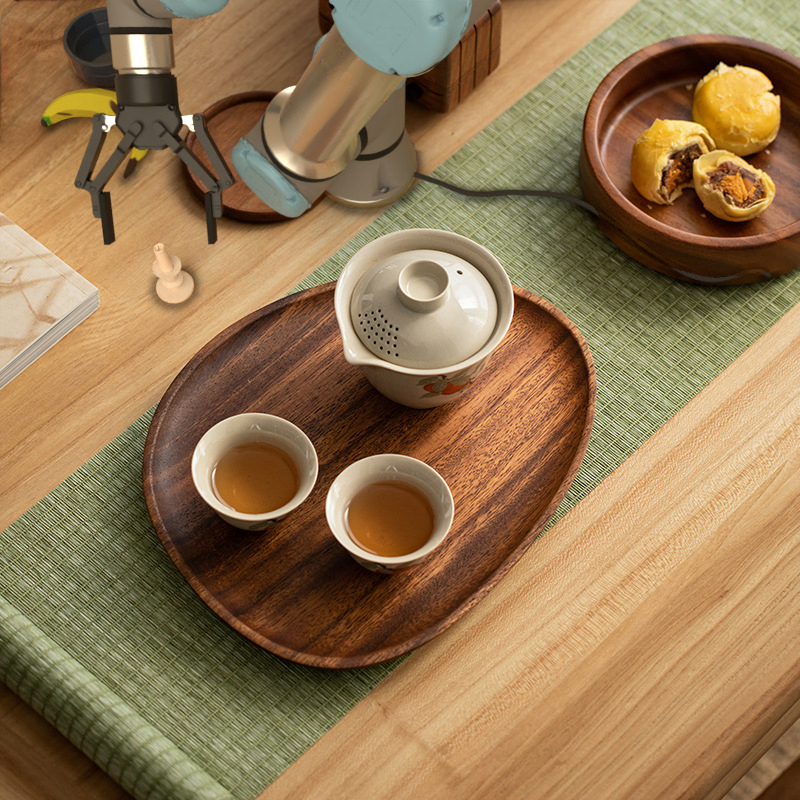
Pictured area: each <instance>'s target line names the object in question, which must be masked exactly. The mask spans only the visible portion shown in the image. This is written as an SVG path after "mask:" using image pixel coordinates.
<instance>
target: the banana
mask: <svg viewBox="0 0 800 800" xmlns="http://www.w3.org/2000/svg"><path fill="white" fill-rule="evenodd" d="M117 111H118V107H117V98H116V91H113V90H110V89H105V88H102V87H98V88H97V87H96V88H95V87H93V88H80V89H75V90H71V91H67V92H65V93H63V94H61V95H59V96H58V97H56V98H54V99H53V100H52V102H50V104H49V105H48V106H46V108H45V109H44V111H43V114H42V116H41V119H40V123H41V124H40V125H41V126H42V127H43V128H49V127H50V126H51V125H55V124H57V123H59V122H61V121H64V120H67V119H71V118H93V115H94V114H97V113H105V114H106V115H114V116H116V115H117ZM148 151H149V149H147V150H138V149H136V148H135V147H134V148H133V149H132V150H131V154H130V156H129V159H128V162H127V164H126V166H125V169H124V172H123V175H122V177H123V179H124V180H125V179H128V177H129V176H130V175H131V174H132V173H133V172H134V171H135V169H136V167H137V164H138V162H139V161H141V160H142V159H143V158H144V157H145V156H146V154H147V153H148Z"/></svg>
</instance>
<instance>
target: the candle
mask: <svg viewBox="0 0 800 800" xmlns="http://www.w3.org/2000/svg"><path fill="white" fill-rule="evenodd" d="M153 253H154V255H155V260H154V261H153V263H152V266H151V269H152V273H153V275H155V277H157V278H158V279H157V282H156V285H155V290H156V293H157V295H158V297H159V298H160V299H161V300H162V301H164V302H165V303H169V304H180V303H183V302H185V301H187V300H188V299H190V297H191V296H192V294H193V292H194V290H195V282H194V279H193V277H192V275H191V274H190V273H188V272H187V271H184V270H182V261H181V259H180V258H179V257H178V256H176V255H174V254H169V253H168V251H167V248H166V247H165V245H164V243H162V242H159V243H156V244H155V245H154V246H153Z"/></svg>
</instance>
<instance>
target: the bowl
mask: <svg viewBox="0 0 800 800" xmlns="http://www.w3.org/2000/svg"><path fill="white" fill-rule="evenodd" d="M110 35H119V34H110V28H109V22H108V13H107V6H100V7H95V8H90V9H88V10H86V11H84V12H82V13H79V14H78V15H77V16H76V17H75V18H73V19H72V20H71V21H70V22H69V23H68V25H67V26H66V28H65V29H64V31H63V35H62V40H61V41H62V45H63V49H64V52H65V54H66V56H67V59H68V61H69V64H70V66H71V69H72V70H73V72H74V73H75V75H76V77H78V78H79V79H80V80H83V81H84V82H85V83H88V84H91V85H93V86H96V87H99V88H115V80H114V78H115V77H116V75H119V70H118V69H114V68H113V61H112V51H111V40H110Z"/></svg>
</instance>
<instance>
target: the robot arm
mask: <svg viewBox="0 0 800 800" xmlns="http://www.w3.org/2000/svg"><path fill="white" fill-rule="evenodd" d="M229 1H230V0H105V3H106V4H105V5H106V7H107V13H108V22H109V28H110V34H119V35H110V40H111V51H112V61H113V68H114V69H118V70H119V75H116V77H115V78H114V80H115V87H114V88H115V92H116V98H117V107H118V111H117V115H116V116H114V115H106V114H105V113H97V114H94V115H93V117H91V118H92V119H91V121H92V126H91V127H92V128H91V129H92V132H91V135H90V136H89V137H90V138H89V141H88V143H87V146H86V149H85V152H84V153H83V156H82V159H81V161H80V166H79V168H78V170H77V172H76V173H77V174H76V176H75V179H74V181H73V185H74V187H75V188H76V189H78V190H79V189H81V190H84V191H87V192H88V193H89V195H90V200H91V208H92V209H91V210H92V215H93V217H94V219H100V222H101V223H100V224H101V231H102V238H103V246H110V245H112V244H113V243H115V242H116V233H115V232H116V231H115V223H114V222H115V221H114V215H113V214H114V213H113V206H112V198H111V191H104V190H105V187H106V186H107V185H108V183H109V182H110V181H111V179H112V178H113V177H114V175H115V173H116V172H117V171H118V169H119V168H120V167H121V165H122V164H123V162H124V161H125V159H126V158H127V157H128V155H129V154H130V153H131V152H132V149H133V148H134V147H135V148H136V149H138V150H147V149H148V150H151V149H152V150H154V151H164V150H167V149H168V148H169V149H170V150H171V151H172V152H173V153H174V154H176V156H178V157H179V158H180V159H181V161H182V162H183V163H184V164H185V165H186V166H187V167H188V168H189V169H190V170H191V171H192V172H193V174H194V175H195V176H196V177H197V178H198V179H199V180H200V181H201V183H203V185H204V186H205V187H206V188H207V189H208V190H207V192H205V193H204V207H205V219H206V221H205V222H206V236H207V244H208V245H215V244H216V242H218V240H219V239H218V229H217V228H218V227H217V218H222V216H223V214H224V202H223V192H224V190H227V189H230V188H232V187H233V186H234V185H236V182H237V181H236V180H237V179H236V178H235V176H234V174H233V173H232V171H231V169H230V167H229V165H228V164H227V162H226V160H225V158H224V156H223V154H222V152H221V150H220V149H219V148H218V145H217V144H216V142H215V140H214V138H213V137H212V134H211V133H210V131H209V128H208V123H207V118H206V114H205V113H204V112H203V111H198V112H195V113H192V114H185V115H183V114H182V112H181V109H180V102H179V90H178V80H177V79H178V78H177V76H176V75H175V74H173V73H172V70H174V69H175V68H176V67H177V65H176V56H175V42H174V32H173V19H186V20H187V19H188V20H198V19H199V18H205V17H208V16H212V15H215V14H217V13H219V12H221V11H222V10H223V9H224V8H225V7H226V6H227V5H228V3H229ZM497 1H498V0H328V2H329V3H330V4H331V5H333V7H334V8H333V9H332V10H331V17H332V19H333V22H334V23H333V24H332V27H331V28H330V29H329V31H328V32H327V33H325V34H324V35H322V36H321V37H320V38H319V40H318V41H317V42H316V44H315V46H314V50H313V54H312V59H311V60H310V62H309V64H308V66H307V67H306V69H305V70H304V72H303V74H302V75H301V77H300V78H299V80H298V82H297V84H296V85H293V86H289V87H286V88H284V89H283V90H281V91H280V92H278V93H277V94H276V95H275V96H274V97H273V98H272V99H271V101H270V103H268V105H267V106H266V108H265V111H264V112H263V113H262V115H261V117H260V119H259V120H258V122H257V123H256V124H255V125H254V126H253V127H252V128H251V129H250V131H248V133H246V134H245V136H243V137H242V136H241V137H240V138H239V140H238V142H237V143H236V144H235V146H234V147H233V148H232V150H231V154H230V155H231V156H230V157H231V163H232V166H233V167H234V170H235V171H236V172H237V174H238V175H239V177H240V178H241V180H242V181H243V182H244V184H245V185H246V186H247V187H248V188H249V189H250V190H251V192H252V193H253V194H254V195H255V196H256V197H257V198H258V199H259V200H260V201H262V202H263V203H264V204H265V205H267V206H268V207H269V208H271V210H274V211H275V212H277V213H278V214H280V215H282V216H284V217H287V218H298V217H300V216H301V215H302V214H303V213H305V211H306V210H308V209H311V208H312V205H313V204H314V202H316V200H318V198H319V197H321V195H322V194H324V195H325V196H326V197H328V198H329V199H330V200H332V201H333V202H335V203H337V204H338V205H340V206H344V207H345V208H346V207H347V208H351V209H356V210H357V209H358V210H372V209H373V210H374V209H378V208H379V209H380V208H382V207H386V206H388V205H391V204H393V203H394V202H396V201H398V200H399V199H401V198H402V197H403V196H405V194H406V193H408V191H410V189H411V187H412V186H413V183H414V181H415V180H416V179H419V180H422V181H424V182H428V183H431V184H433V185H437V186H439V187H442V188H443V189H444V188H445V189H447V190H449V191H452V192H454V193H456V194H460V195H464V196H467V197H477V198H478V197H479V198H485V197H486V198H487V197H499V196H500V197H501V196H534V197H547V198H555V199H560V200H564V201H567V202H570V203H573V204H576V205H578V206H580V207H582V208H584V209H586V210H588V211H590V212H592V213H593V214H595V215H596V216H598V217H599V218H601V217H600V216H599V214H598V213H597V211H596V210H595V208H596V207H595V206H594V207H595V208H594V207H593V205H592V204H590V203H588V202H586V201H584V200H582V199H579V198H577V197H574V196H571V195H568V194H565V193H560V192H555V191H549V190H548V191H547V190H534V189H533V190H532V189H531V190H530V189H500V190H489V191H487V190H486V191H478V190H477V191H476V190H468V189H464V188H460V187H458V186H455V185H453V184H451V183H449V182H446V181H443V180H440V179H438V178H435V177H432V176H429V175H426V174H423V173H420V172H417V170H418V156H417V150H416V147H415V144H414V143H413V141H412V139H411V137H410V135H409V132H408V131H407V129H406V123H405V122H406V81H407V78H414V77H418V76H421V75H424V74H426V73H428V72H430V71H432V70H433V69H434V68H435V67H436V66H437V65H439V64H440V63H441V62H442V61H443V60H444V59H445V58H446V57H447V56H448V55H450V53H451V52H452V51H453V50H454V49H455V48H456V46H457V45H458V44H459V42H460V41H461V40H462V39H463V37H464V36H465V35H466V34H467V33H468V32H469V31H470V30H471V28H472V27H473V26H474V25H475V24H476V23H477V22H478V21H480V19H481V18H482V17H483V16H484V14H486V13H487V11H488V10H489V9H490V8H491V7H492V6H493V5H494V4H495V3H496V2H497ZM184 125H186V126H187V128H188V129H189V131H191V132H192V133H194V134H195V136H196V138H197V140H198V142H199V143H200V145H201V147H202V149H203V151H204V153H205V154H206V156H207V158H208V159H209V161H210V164H211V165H212V167H213V169H214V171H215V172H216V174H217V176H218V177H219V179H218V178H217V176H216V175H214V174H213V172H212V171H211V170H210V169H209V167H207V166H206V164H205V163H204V162H203V161H202V160H201V159H200V158H199V156H197V155H196V154H195V152H194V151H193V150H192V149H191V148H190V147H189V146H188V144H187V143H186V141H185V140H184V138H182V137H181V136H180V135H179V134H180V132H181V130H182V129H183V127H184ZM114 126H116V128H117V129H118V130H119V131H120V132H121V134H122V135H123V137H122V138H121V140H120V141H119V143H118V144H117V145H116V147H115V150H114V151H113V152H112V154H111V155H110V156H109V158H108V159H107V160H106V162H105V163H104V165H103V166H102V168H101V169H100V171H98V173H97V175H96V176H95V177H94V179H92V177H93V174H94V172H95V169H96V166H97V163H98V160H99V158H100V155H101V152H102V150H103V147H104V144H105V143H106V139H107V135H108V133H109V132H111V131H112V130H113V127H114ZM669 268H670V269H672V270H673V271H675V272H677V273H678V274H680V275H683V276H685V277H687V278H690V279H693V280H696V281H699V282H704V283H721V282H727V281H731V280H735V279H738V278H740V277H743V276H742V275H741V276H729V277H720V275H719V276H718V277H720V278H714V277H715V276H706V275H700V274H697V273H694V272H691V273H689V272H690V271H689V272H688V273H687V272H685V271H680V270H678V269H675V268H671V267H669ZM759 274H760V275H762V276H764V277H766V278H771V277H772V273H771V272H770V271H769V272H765V273H759Z"/></svg>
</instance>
